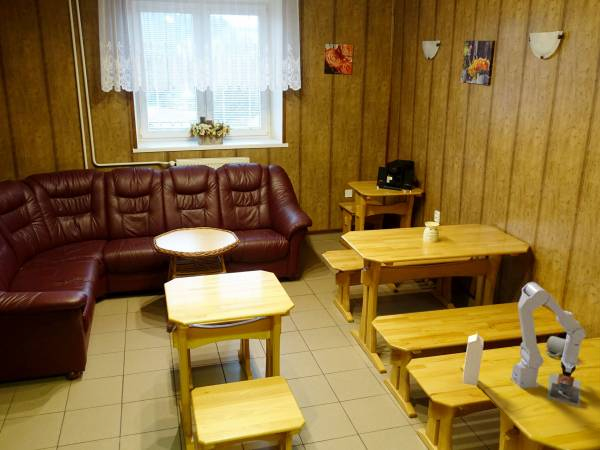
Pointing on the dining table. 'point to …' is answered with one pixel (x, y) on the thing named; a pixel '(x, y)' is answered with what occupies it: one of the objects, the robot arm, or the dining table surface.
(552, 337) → the ceramic mug
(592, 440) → the dining table surface
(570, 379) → the pin
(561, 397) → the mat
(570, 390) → the hitch block
